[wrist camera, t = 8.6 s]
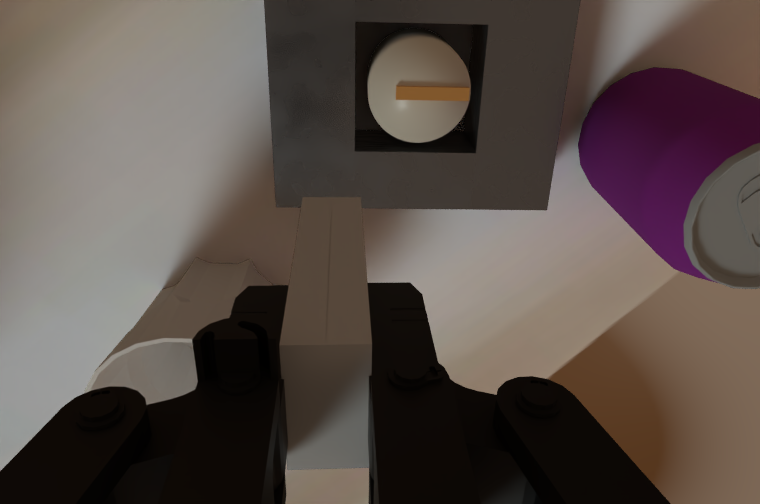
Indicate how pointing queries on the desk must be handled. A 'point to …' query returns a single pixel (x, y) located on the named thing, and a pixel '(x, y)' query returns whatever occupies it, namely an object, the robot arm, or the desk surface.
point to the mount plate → (433, 158)
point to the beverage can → (681, 170)
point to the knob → (417, 85)
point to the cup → (174, 331)
